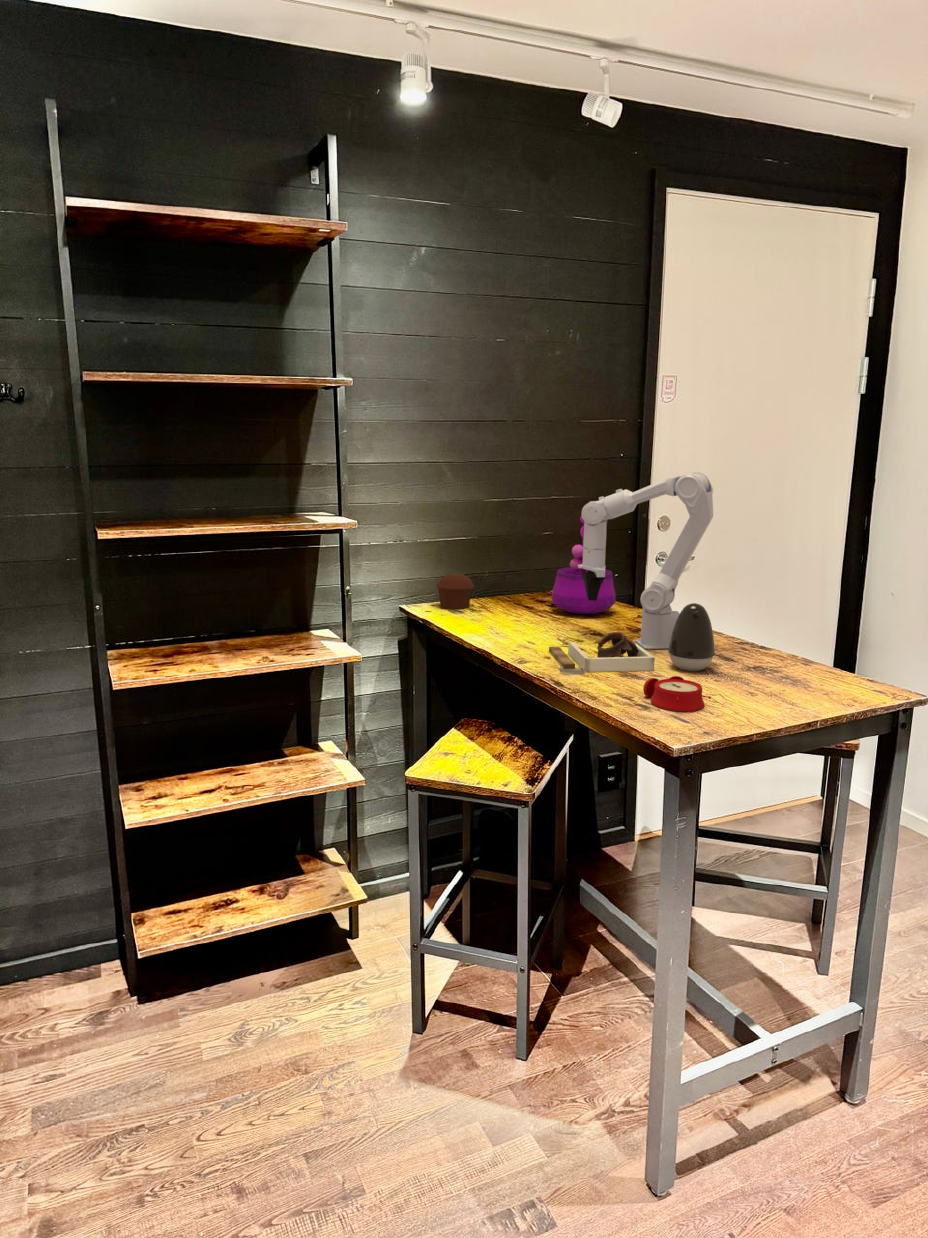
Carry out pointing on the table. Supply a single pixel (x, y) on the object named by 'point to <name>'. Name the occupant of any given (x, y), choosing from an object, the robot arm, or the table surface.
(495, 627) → the table surface
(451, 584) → the muffin
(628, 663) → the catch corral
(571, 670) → the walnut scraper
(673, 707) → the alarm clock
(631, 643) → the brown hollow round piece
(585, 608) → the decorative plant
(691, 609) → the black egg shaped dome
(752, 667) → the table surface
